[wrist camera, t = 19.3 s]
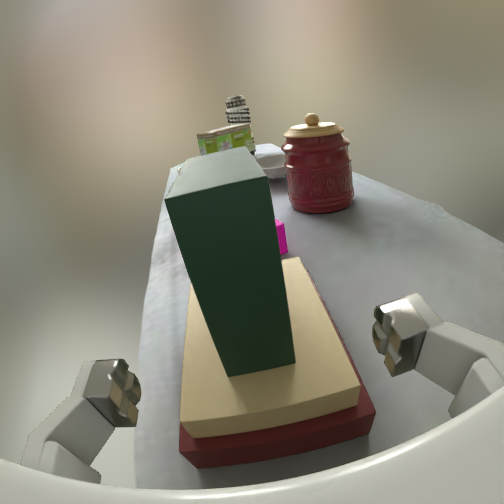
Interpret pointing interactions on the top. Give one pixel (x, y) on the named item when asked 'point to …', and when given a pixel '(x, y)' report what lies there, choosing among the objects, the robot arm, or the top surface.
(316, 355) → the book stack
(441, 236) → the top surface
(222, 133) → the tea box
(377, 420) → the top surface
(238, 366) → the book
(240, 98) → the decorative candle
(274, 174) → the dish
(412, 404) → the top surface
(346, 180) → the kitchen canister
